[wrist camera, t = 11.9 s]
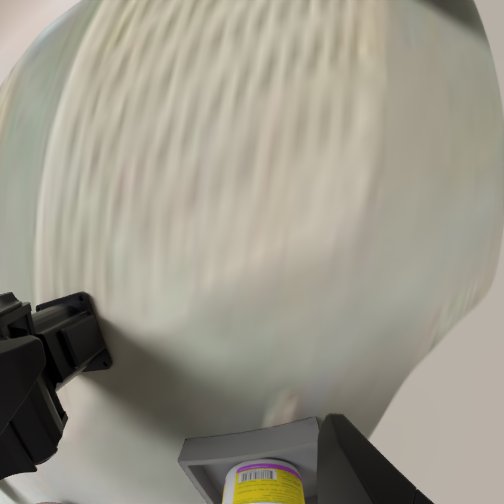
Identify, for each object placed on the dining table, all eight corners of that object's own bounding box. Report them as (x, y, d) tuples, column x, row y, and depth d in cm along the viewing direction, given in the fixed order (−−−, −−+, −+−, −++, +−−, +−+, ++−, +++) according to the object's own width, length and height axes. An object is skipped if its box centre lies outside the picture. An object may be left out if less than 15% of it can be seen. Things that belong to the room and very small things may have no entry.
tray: (227, 504, 21) (224, 524, 18) (185, 439, 20) (177, 461, 17) (332, 487, 20) (337, 507, 17) (315, 416, 20) (321, 439, 17)
